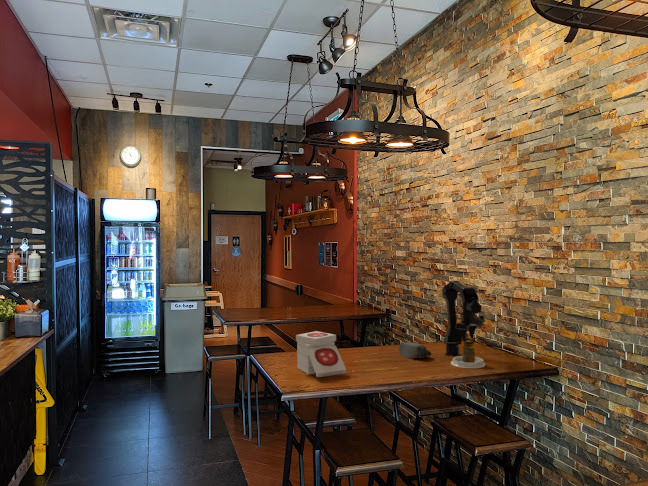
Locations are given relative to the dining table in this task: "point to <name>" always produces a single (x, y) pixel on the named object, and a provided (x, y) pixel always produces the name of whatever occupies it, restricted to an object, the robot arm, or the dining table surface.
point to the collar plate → (459, 363)
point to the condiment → (468, 351)
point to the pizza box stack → (319, 354)
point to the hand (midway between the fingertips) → (468, 340)
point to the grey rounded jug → (413, 350)
